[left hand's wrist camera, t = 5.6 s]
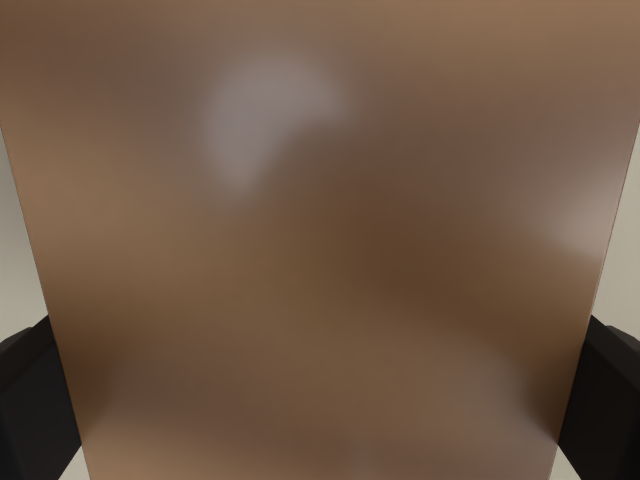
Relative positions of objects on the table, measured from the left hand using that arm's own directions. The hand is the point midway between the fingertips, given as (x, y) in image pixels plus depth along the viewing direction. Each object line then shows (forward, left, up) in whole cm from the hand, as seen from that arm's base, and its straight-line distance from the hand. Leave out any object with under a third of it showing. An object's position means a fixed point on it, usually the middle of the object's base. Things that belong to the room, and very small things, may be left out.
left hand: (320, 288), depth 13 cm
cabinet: (+5, -4, -5) cm, 8 cm away
